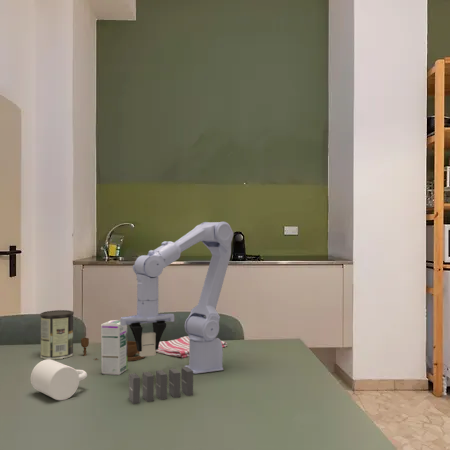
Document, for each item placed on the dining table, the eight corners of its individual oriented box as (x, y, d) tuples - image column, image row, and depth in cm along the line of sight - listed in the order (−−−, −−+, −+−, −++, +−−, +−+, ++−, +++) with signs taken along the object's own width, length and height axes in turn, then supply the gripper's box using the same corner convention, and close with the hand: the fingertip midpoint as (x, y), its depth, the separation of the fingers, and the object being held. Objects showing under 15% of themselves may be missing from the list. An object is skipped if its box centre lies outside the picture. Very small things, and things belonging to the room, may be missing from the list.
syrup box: (119, 375, 138) (120, 324, 138) (100, 374, 139) (100, 323, 139) (127, 369, 144) (128, 320, 144) (109, 368, 145) (109, 319, 145)
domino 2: (139, 355, 132) (139, 333, 132) (153, 353, 134) (153, 331, 134) (141, 356, 131) (141, 334, 131) (155, 355, 132) (155, 333, 132)
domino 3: (148, 395, 121) (148, 371, 121) (153, 400, 117) (153, 375, 117) (142, 396, 120) (142, 372, 120) (147, 401, 117) (147, 376, 117)
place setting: (118, 367, 148) (118, 348, 148) (77, 357, 159) (77, 339, 160) (159, 355, 162) (159, 338, 162) (118, 347, 174) (118, 330, 174)
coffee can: (59, 350, 166) (59, 309, 167) (79, 354, 161) (80, 311, 161) (33, 356, 158) (33, 313, 158) (53, 361, 152) (54, 316, 152)
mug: (48, 404, 115) (49, 370, 115) (29, 394, 122) (30, 362, 122) (93, 392, 124) (94, 360, 124) (73, 383, 130) (74, 353, 131)
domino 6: (187, 390, 125) (187, 366, 125) (193, 395, 122) (193, 370, 122) (181, 391, 125) (181, 367, 125) (186, 396, 121) (187, 371, 121)
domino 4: (161, 394, 122) (162, 370, 123) (167, 398, 119) (167, 374, 119) (155, 394, 122) (155, 370, 122) (160, 399, 118) (160, 375, 118)
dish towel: (146, 352, 167) (146, 341, 167) (194, 340, 185) (194, 331, 185) (181, 360, 156) (181, 349, 156) (228, 348, 173) (228, 338, 173)
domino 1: (135, 397, 120) (135, 373, 120) (139, 403, 116) (139, 377, 116) (128, 398, 119) (129, 374, 119) (133, 404, 115) (133, 378, 115)
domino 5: (174, 392, 124) (174, 368, 124) (180, 397, 120) (180, 372, 120) (168, 393, 123) (168, 369, 123) (173, 397, 120) (174, 373, 120)
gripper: (124, 303, 126) (124, 356, 126) (178, 299, 132) (177, 350, 132) (118, 299, 132) (118, 350, 132) (169, 296, 138) (169, 344, 138)
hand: (147, 349), depth 132 cm, fingers closed on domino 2, 4 cm apart
